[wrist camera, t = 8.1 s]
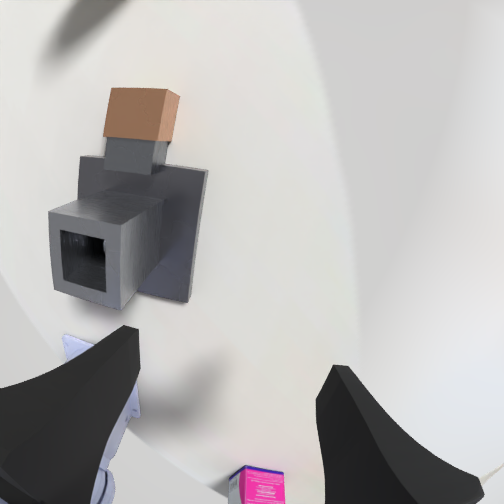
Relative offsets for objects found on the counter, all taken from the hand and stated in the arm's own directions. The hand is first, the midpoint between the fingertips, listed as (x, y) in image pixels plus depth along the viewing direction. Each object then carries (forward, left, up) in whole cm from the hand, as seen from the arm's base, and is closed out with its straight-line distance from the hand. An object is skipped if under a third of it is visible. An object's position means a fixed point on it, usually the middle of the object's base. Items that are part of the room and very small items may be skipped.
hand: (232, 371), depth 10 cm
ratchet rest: (+3, +8, -10) cm, 14 cm away
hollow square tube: (+1, +8, -9) cm, 12 cm away
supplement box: (-31, -7, -11) cm, 34 cm away
